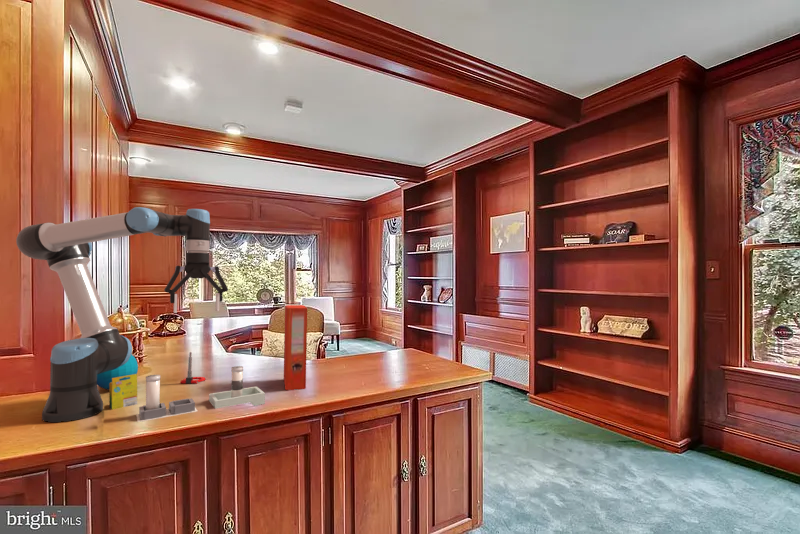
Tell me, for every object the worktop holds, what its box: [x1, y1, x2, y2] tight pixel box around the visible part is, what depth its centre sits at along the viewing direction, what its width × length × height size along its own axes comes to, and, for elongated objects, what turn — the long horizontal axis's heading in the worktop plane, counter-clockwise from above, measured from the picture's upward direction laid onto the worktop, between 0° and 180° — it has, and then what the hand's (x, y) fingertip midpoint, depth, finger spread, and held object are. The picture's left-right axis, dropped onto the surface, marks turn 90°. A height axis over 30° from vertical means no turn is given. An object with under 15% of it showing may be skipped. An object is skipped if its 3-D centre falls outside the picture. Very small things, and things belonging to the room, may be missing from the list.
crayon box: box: [108, 373, 138, 411], centre depth 131 cm, size 7×3×12 cm, turn 141°
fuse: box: [145, 374, 161, 410], centre depth 122 cm, size 4×4×12 cm
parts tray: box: [208, 385, 266, 409], centre depth 137 cm, size 16×10×4 cm, turn 126°
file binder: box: [283, 304, 308, 391], centre depth 164 cm, size 8×17×32 cm, turn 19°
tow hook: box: [180, 351, 206, 385], centre depth 168 cm, size 8×13×9 cm
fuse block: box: [135, 397, 198, 423], centre depth 124 cm, size 16×8×4 cm, turn 126°
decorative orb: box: [97, 354, 139, 390], centre depth 155 cm, size 15×15×15 cm
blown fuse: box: [230, 365, 244, 398], centre depth 137 cm, size 4×4×12 cm
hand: (196, 311), depth 141 cm, fingers open, 13 cm apart
